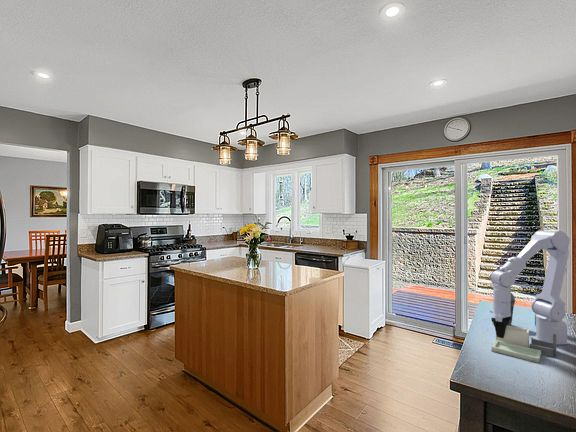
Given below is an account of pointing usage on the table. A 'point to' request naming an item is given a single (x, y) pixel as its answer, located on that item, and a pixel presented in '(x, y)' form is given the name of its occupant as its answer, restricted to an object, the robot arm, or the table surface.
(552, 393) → the table surface
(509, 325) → the beverage cup
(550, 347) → the bay
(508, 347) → the tray
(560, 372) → the table surface
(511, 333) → the box
